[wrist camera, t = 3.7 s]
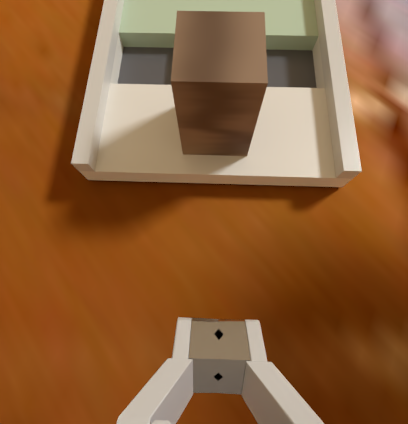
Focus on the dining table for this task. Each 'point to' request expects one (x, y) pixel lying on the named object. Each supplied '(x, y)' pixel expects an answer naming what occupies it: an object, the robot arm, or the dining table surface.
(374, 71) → the dining table surface
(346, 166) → the board
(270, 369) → the robot arm
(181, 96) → the walnut block
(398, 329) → the dining table surface
